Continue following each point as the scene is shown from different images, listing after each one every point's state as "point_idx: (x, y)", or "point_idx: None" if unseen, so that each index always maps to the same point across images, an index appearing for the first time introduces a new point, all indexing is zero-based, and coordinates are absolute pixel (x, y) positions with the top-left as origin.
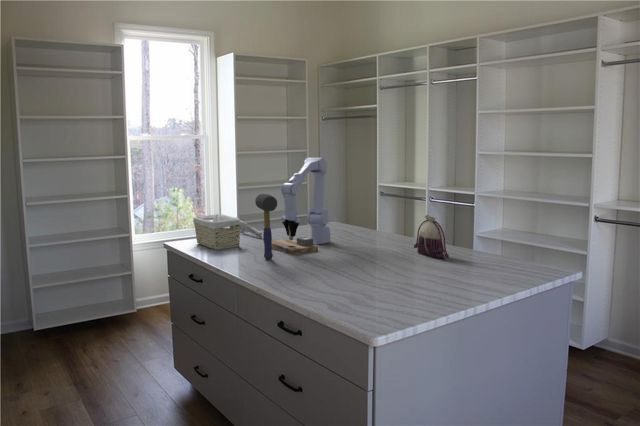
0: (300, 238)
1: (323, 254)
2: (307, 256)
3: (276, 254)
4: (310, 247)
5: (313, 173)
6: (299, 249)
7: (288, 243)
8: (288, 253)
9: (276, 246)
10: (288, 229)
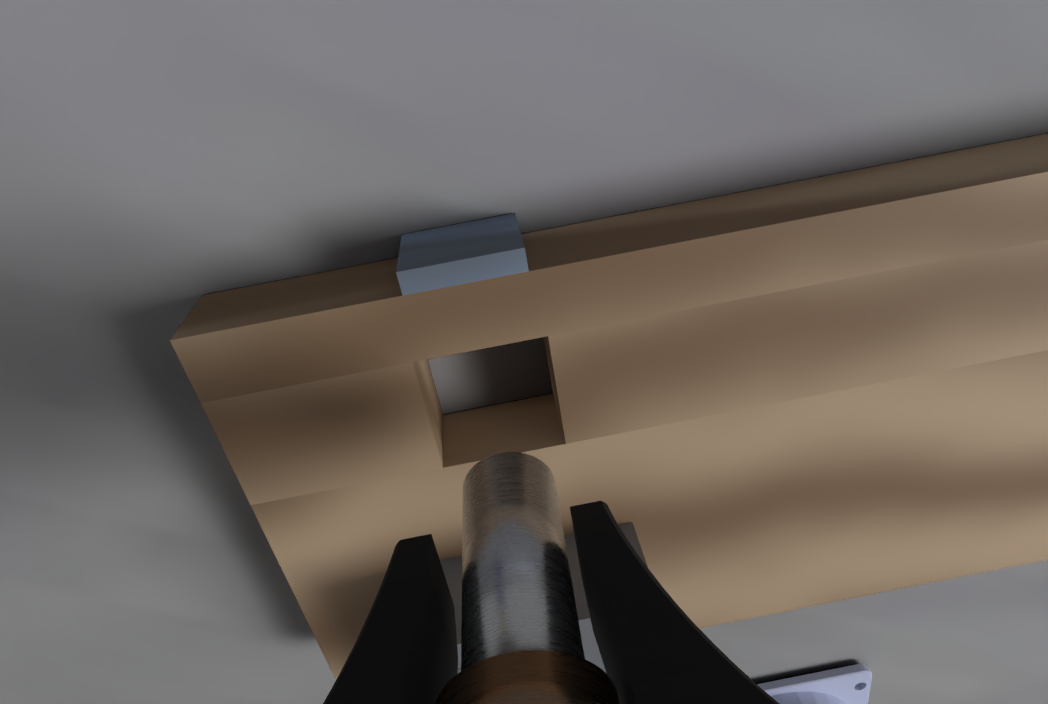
0: (592, 643)
1: (110, 633)
2: (35, 446)
3: (416, 35)
4: (303, 609)
5: None
6: (228, 448)
7: (776, 437)
8: (368, 264)
9: (806, 205)
10: (513, 664)
